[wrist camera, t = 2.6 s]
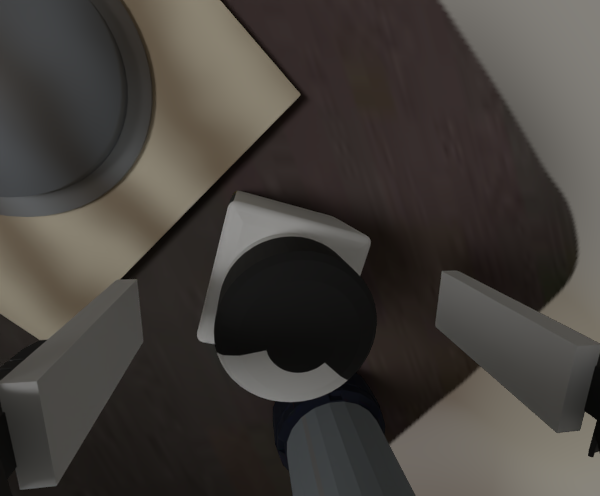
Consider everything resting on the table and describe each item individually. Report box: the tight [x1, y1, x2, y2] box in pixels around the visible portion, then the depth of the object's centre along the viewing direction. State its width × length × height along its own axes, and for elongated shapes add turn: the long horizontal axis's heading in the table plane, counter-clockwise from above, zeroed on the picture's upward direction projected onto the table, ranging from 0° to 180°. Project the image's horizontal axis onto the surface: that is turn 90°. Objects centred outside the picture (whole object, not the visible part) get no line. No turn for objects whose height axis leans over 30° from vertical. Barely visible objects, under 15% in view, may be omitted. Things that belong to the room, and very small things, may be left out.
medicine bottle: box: [197, 191, 377, 402], centre depth 17 cm, size 7×7×12 cm
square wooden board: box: [0, 0, 301, 340], centre depth 17 cm, size 22×22×2 cm
